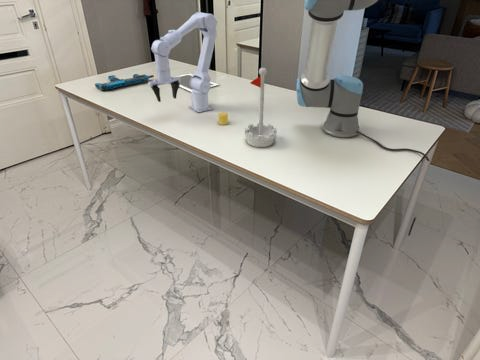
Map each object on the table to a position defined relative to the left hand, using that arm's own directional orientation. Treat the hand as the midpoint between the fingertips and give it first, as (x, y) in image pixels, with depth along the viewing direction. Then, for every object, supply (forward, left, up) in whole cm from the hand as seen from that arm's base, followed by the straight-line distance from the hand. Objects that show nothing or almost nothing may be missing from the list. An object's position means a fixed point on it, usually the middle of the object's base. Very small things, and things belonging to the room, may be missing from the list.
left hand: (167, 99), depth 156 cm
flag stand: (+43, +22, -9) cm, 50 cm away
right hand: (+21, +70, +18) cm, 75 cm away
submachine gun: (-68, -1, -9) cm, 69 cm away
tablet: (-45, +33, -9) cm, 57 cm away
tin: (+19, +19, -9) cm, 28 cm away
